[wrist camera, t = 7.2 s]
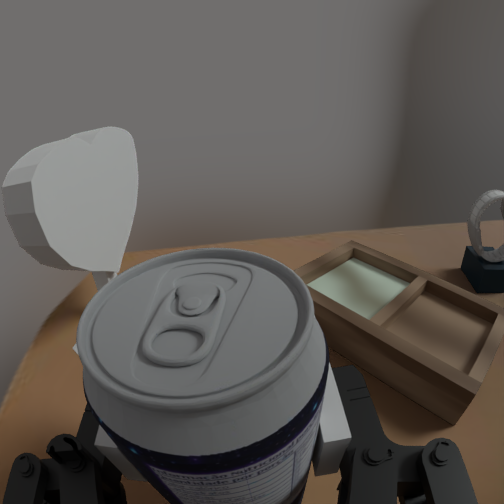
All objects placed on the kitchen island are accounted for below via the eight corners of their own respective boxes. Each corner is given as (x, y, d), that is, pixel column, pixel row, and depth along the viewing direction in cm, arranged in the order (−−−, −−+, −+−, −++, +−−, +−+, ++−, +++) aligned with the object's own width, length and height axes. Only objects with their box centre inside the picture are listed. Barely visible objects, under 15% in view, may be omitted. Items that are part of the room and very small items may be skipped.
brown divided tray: (348, 269, 36) (351, 240, 34) (497, 343, 22) (511, 312, 20) (277, 311, 30) (276, 278, 28) (454, 425, 16) (475, 394, 15)
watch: (515, 292, 28) (540, 206, 23) (464, 293, 29) (488, 198, 24) (496, 268, 33) (516, 189, 28) (449, 267, 34) (466, 182, 29)
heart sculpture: (128, 273, 37) (98, 126, 29) (164, 275, 37) (138, 118, 28) (62, 362, 24) (-13, 166, 15) (105, 372, 23) (29, 153, 15)
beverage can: (304, 450, 14) (324, 239, 8) (298, 547, 9) (349, 440, 3) (197, 442, 15) (127, 241, 9) (173, 533, 10) (10, 382, 4)
